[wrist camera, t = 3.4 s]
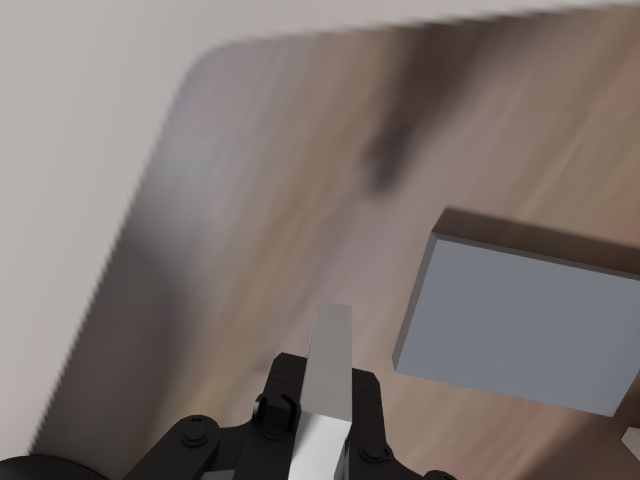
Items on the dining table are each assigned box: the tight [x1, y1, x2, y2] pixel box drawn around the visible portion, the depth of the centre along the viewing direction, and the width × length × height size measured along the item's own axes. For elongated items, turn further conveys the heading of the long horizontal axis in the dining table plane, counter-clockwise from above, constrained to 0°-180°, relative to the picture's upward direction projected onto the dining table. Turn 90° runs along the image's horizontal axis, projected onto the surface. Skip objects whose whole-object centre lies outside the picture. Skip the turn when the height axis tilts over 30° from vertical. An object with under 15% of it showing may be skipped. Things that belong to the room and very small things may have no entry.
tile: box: [392, 232, 640, 417], centre depth 22 cm, size 14×9×2 cm, turn 79°
